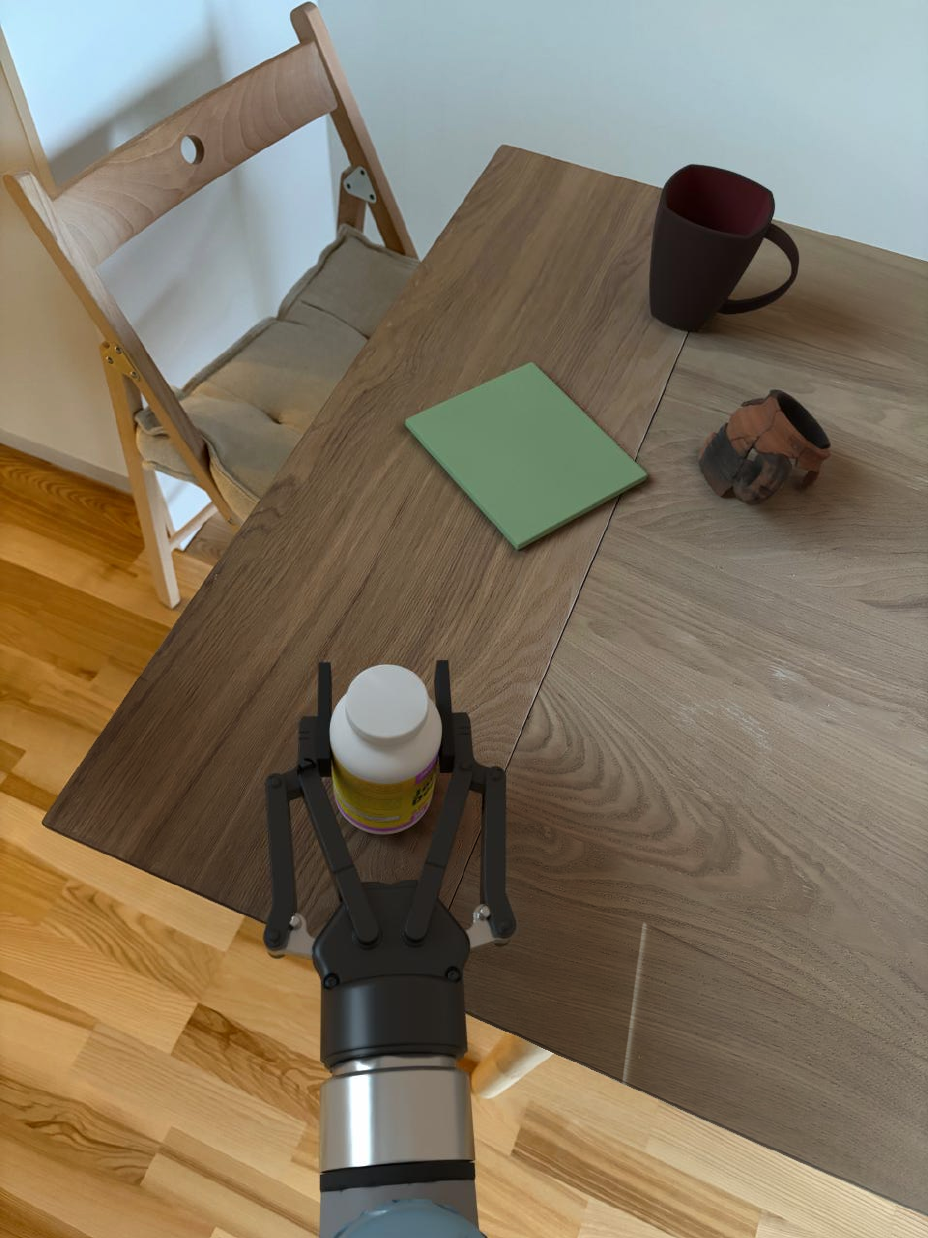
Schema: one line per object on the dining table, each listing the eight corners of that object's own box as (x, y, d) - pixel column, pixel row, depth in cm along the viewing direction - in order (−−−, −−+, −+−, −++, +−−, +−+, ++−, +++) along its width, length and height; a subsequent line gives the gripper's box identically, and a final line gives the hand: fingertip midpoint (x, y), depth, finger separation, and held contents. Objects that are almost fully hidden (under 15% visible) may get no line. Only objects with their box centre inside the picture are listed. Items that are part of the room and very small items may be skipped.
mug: (650, 265, 96) (683, 153, 86) (779, 312, 94) (829, 203, 84) (617, 321, 91) (648, 209, 81) (753, 372, 89) (802, 264, 79)
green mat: (404, 425, 81) (405, 418, 81) (530, 367, 87) (532, 360, 86) (517, 550, 75) (518, 544, 74) (645, 480, 80) (648, 474, 80)
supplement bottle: (418, 849, 61) (429, 768, 50) (320, 823, 62) (310, 738, 51) (443, 758, 65) (458, 664, 54) (351, 734, 65) (347, 637, 54)
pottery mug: (689, 428, 85) (759, 362, 80) (765, 487, 87) (837, 427, 82) (690, 502, 76) (768, 433, 71) (774, 566, 78) (855, 504, 73)
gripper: (207, 1091, 50) (233, 702, 62) (571, 1066, 52) (527, 695, 64) (183, 1071, 43) (218, 643, 56) (599, 1044, 46) (544, 638, 58)
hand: (383, 672), depth 60 cm, fingers closed on supplement bottle, 7 cm apart
